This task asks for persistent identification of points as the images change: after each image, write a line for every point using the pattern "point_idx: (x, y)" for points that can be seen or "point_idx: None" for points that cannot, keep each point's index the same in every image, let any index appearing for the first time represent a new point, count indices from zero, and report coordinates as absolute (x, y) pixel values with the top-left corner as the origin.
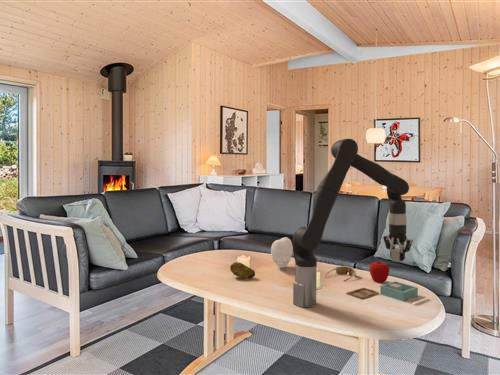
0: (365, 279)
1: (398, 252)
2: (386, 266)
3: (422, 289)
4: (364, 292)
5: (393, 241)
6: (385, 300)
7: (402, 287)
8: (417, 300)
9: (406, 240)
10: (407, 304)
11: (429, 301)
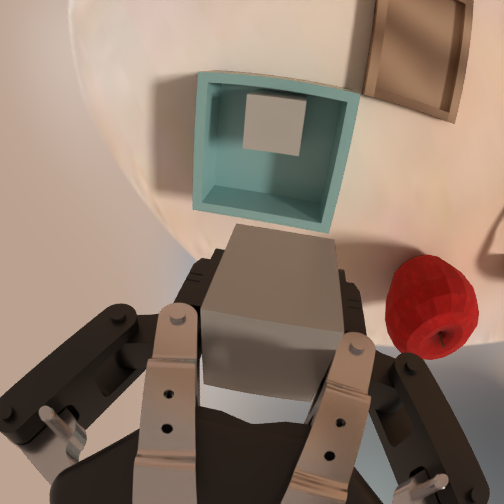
0: (470, 270)
1: (217, 295)
2: (402, 330)
3: None
4: (424, 66)
5: (295, 471)
6: (294, 36)
7: (278, 205)
8: (187, 148)
9: (53, 454)
10: (191, 65)
11: (152, 173)
